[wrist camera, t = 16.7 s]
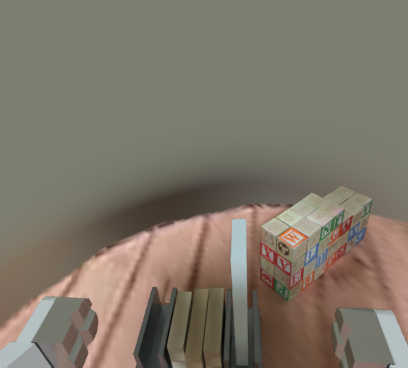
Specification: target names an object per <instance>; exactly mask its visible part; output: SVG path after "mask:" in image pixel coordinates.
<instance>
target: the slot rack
mask: <svg viewBox="0 0 408 368" xmlns="http://www.w3.org/2000/svg"><path fill="white" fill-rule="evenodd" d="M177 294H178V290H177V288H173V290H172V294H171V299H170V303H169V305H161V302H160V298H159V295H158V291H157V287H152V291H151V294H150V298H149V301H148V305H147V308H146V312H145V315H144V319H143V322H142V326H141V329H140V333H139V336H138V340H137V343H136V347H135V351H134V354H133V355H134V357H135V360H136V362H137V365H136V368H173V366H172V363H171V359H170V356H169V352H168V349H167V343H168V338H169V333H170V328H171V323H172V318H173V314H174V309H175V304H176V299H177ZM247 313H248V366H243V365H237V364H236V346H235V328H234V310H233V307H232V290H231V289H227V305H226V322H225V341H224V360H223V368H262V346H261V323H260V309H258V307H257V290H253V308H247Z"/></svg>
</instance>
